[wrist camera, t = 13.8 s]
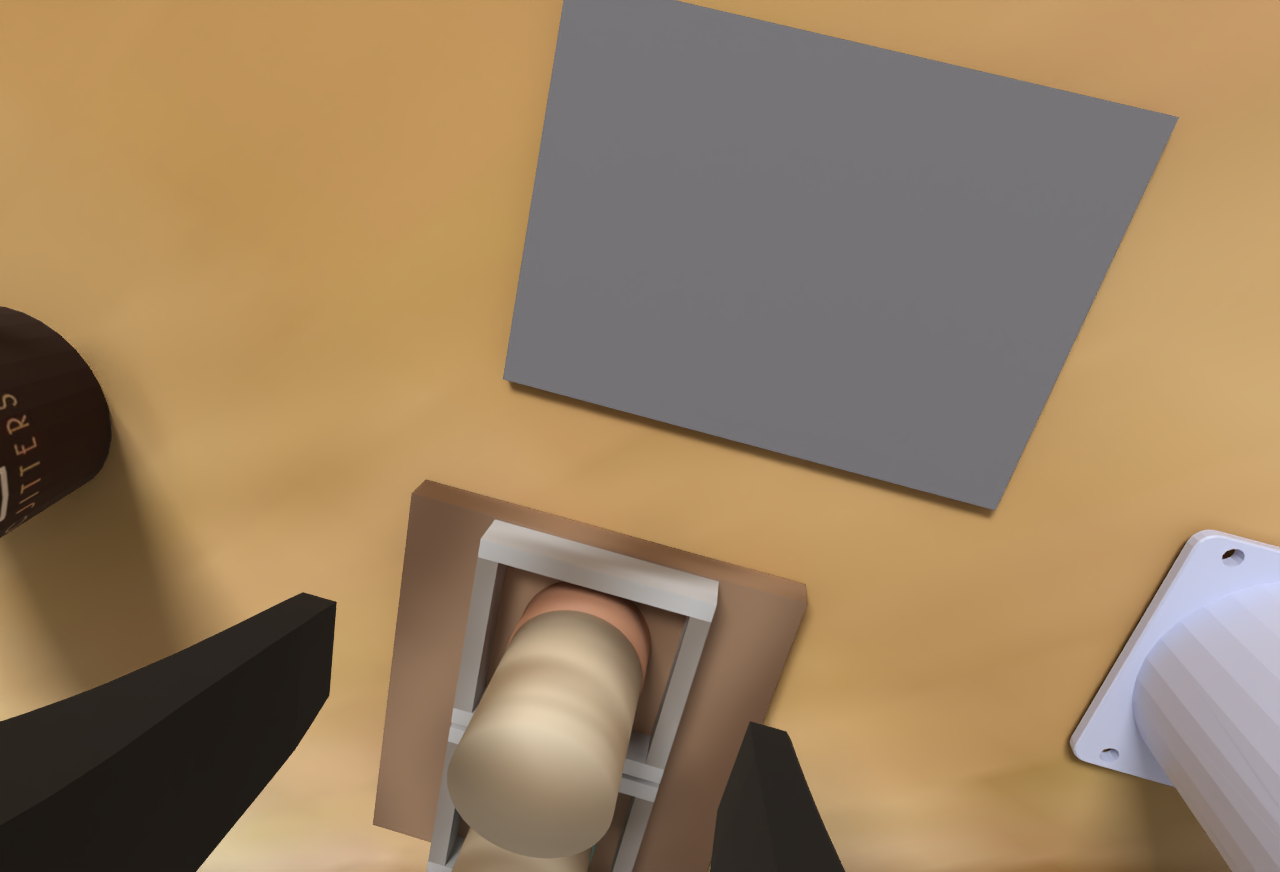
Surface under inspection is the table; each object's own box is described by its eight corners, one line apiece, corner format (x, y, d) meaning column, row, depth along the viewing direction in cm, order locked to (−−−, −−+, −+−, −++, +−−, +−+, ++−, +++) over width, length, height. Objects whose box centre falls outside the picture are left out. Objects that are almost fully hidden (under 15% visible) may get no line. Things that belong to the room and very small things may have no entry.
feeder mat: (1169, 118, 16) (1178, 117, 16) (991, 504, 20) (995, 510, 20) (571, -21, 17) (567, -25, 17) (507, 375, 21) (503, 379, 20)
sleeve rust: (634, 706, 23) (596, 879, 17) (511, 670, 23) (435, 830, 18) (664, 601, 21) (633, 754, 16) (532, 564, 22) (456, 702, 16)
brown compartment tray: (805, 584, 22) (810, 628, 20) (690, 894, 27) (685, 954, 25) (426, 479, 22) (393, 511, 20) (385, 802, 28) (356, 853, 26)
